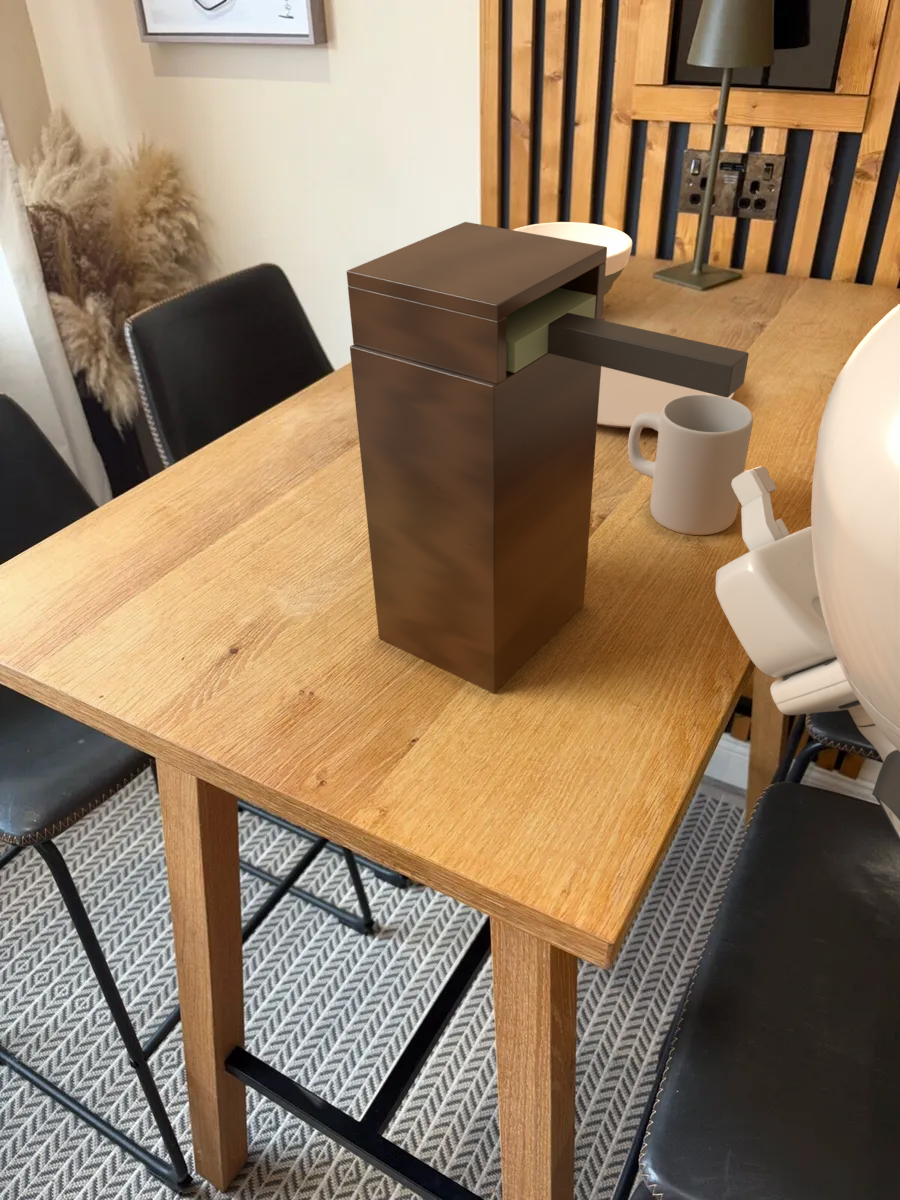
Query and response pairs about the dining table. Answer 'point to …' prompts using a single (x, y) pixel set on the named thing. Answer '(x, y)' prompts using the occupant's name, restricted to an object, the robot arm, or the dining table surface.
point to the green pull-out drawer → (617, 345)
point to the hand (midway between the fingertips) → (794, 455)
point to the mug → (694, 461)
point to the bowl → (591, 242)
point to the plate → (634, 397)
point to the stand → (473, 447)
